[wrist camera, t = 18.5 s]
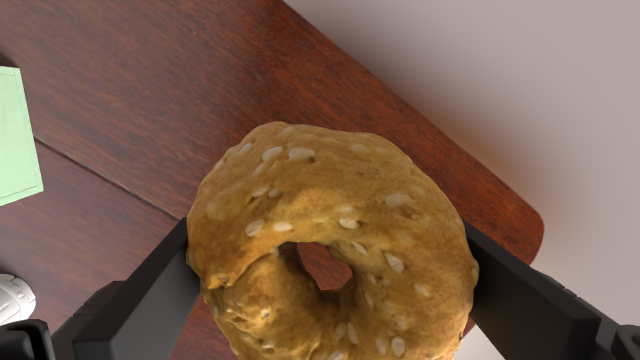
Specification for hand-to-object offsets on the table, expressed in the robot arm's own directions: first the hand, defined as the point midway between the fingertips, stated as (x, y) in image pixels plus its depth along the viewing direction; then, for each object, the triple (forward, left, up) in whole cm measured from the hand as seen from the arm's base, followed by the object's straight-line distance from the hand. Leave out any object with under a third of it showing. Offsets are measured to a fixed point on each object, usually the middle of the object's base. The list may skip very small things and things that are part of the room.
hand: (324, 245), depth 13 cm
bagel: (0, 0, 0) cm, 0 cm away
